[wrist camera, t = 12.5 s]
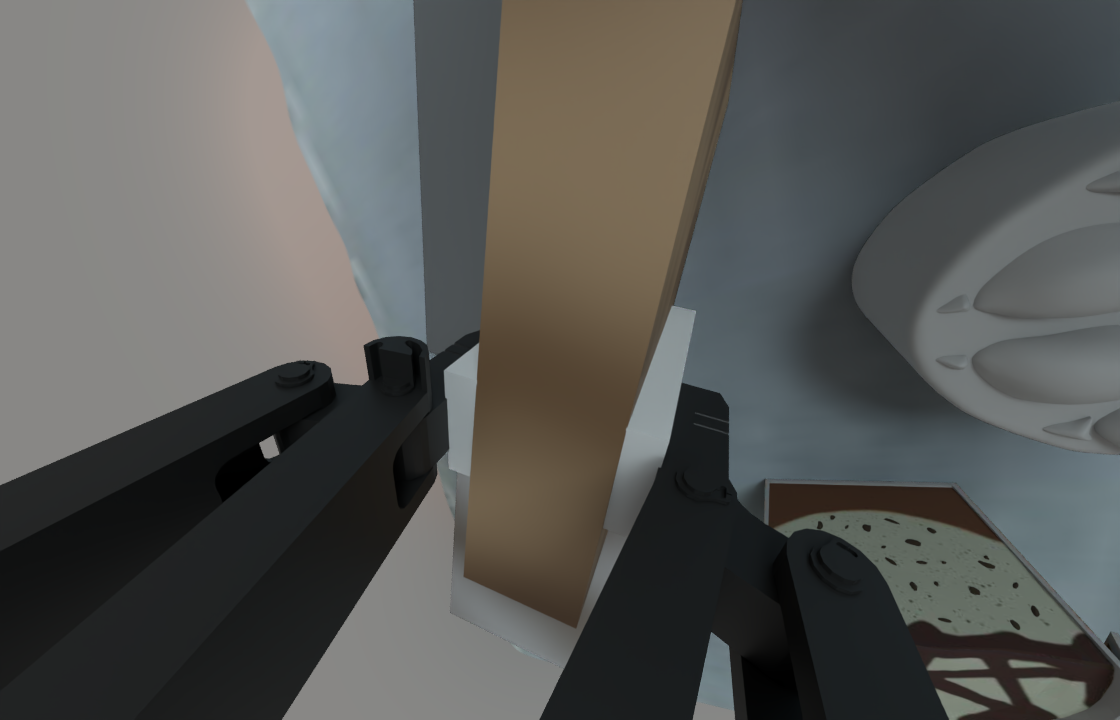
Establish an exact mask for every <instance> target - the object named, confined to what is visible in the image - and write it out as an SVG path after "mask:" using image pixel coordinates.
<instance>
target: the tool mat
mask: <svg viewBox="0 0 1120 720" xmlns="http://www.w3.org/2000/svg"><path fill="white" fill-rule="evenodd" d="M413 1H414V27H415V52H416V78H417V103H418V129H419V155H420V180H421V206H422V231H423V257H424V283H425V308H426V334H427V346H428V351H430V352H433V353H436V354H439V353H441V352H442V351H445V349H446V348H448V347H449V346H451V345H452V344H453V345H454V343H455V342H456V341H458V340H459V339H460V338H462V337H463V336H465V335H466V334H469V333H472V332H475V331H478V330H480V323H481V308H482V293H483V279H484V264H485V249H486V234H487V219H488V205H489V190H490V175H491V160H492V146H493V131H494V116H495V101H496V86H497V72H498V57H499V42H500V27H501V12H502V0H413Z"/></svg>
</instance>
